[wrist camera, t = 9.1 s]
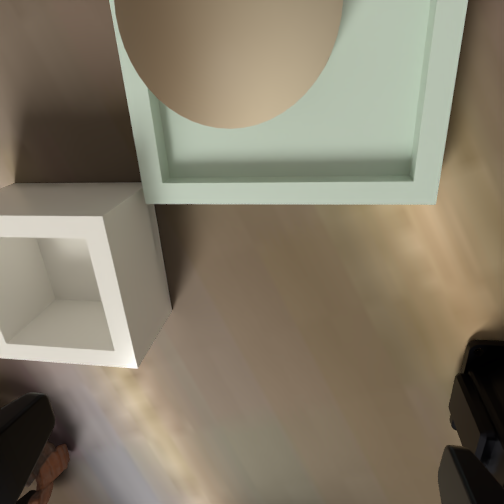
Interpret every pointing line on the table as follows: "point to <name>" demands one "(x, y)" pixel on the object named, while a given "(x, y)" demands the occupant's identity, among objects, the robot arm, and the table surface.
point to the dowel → (228, 54)
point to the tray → (321, 121)
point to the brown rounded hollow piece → (46, 473)
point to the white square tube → (80, 273)
